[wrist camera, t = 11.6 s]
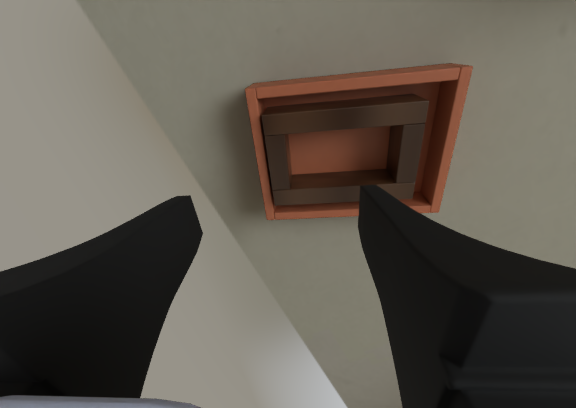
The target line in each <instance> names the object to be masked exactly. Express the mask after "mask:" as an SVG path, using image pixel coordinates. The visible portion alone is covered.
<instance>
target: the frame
mask: <svg viewBox="0 0 576 408" xmlns="http://www.w3.org/2000/svg"><path fill="white" fill-rule="evenodd" d="M428 105H429V100H427V99H424V98H422V97H420V96H418V95H415V94H403V95H392V96H381V97H370V98H359V99H348V100H337V101H326V102H315V103H304V104H293V105H282V106H271V107H267V108H266V110H265V111H264V113H263V114H262V122H263V129H264V135H265V143H266V150H267V157H268V163H269V170H270V177H271V184H272V190H273V198H274V205H275V206H278V205H298V204H318V203H338V202H358V201H359V198H360V186H361V185H377V186H379V187H380V188H382V189H383V190H385V191H386V192H388V193H389V194H391V195H392V196H393V197H395V198H396V199H412V198H413V194H414V188H415V182H416V176H417V170H418V165H419V159H420V153H421V147H422V141H423V135H424V129H425V122H426V117H427V111H428ZM383 126H391V127H390V136H389V146H388V156H387V166H386V168H387V169H374V170H358V171H342V172H326V173H310V174H294V175H292V167H291V157H290V146H289V136H288V134H294V133H307V132H319V131H332V130H345V129H357V128H370V127H383Z"/></svg>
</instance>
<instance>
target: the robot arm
mask: <svg viewBox="0 0 576 408" xmlns="http://www.w3.org/2000/svg"><path fill="white" fill-rule="evenodd" d="M358 229H359V234H360V239H361V244H362V248H363V251H364V254H365V257H366V260H367V263H368V266H369V269H370V272H371V274H372V277H373V280H374V283H375V286H376V289H377V292H378V295H379V298H380V302H381V305H382V310H383V314H384V318H385V323H386V327H387V332H388V336H389V341H390V346H391V350H392V355H393V360H394V365H395V370H396V375H397V380H398V385H399V390H400V396H401V401H402V406H403V408H576V269H574V268H570V267H566V266H562V265H558V264H554V263H550V262H546V261H541V260H538V259H534V258H531V257H527V256H524V255H521V254H517V253H514V252H511V251H507V250H504V249H501V248H498V247H495V246H492V245H489V244H486V243H484V242H481V241H479V240H476V239H473V238H471V237H468V236H465V235H463V234H461V233H458V232H456V231H454V230H452V229H449V228H447V227H445V226H443V225H441V224H439V223H437V222H435V221H433V220H431V219H429V218H427V217H426V216H424V215H422V214H420V213H418V212H417V211H415V210H413V209H412V208H410V207H409V206H407V205H405V204H404V203H402V202H401V201H399V200H398V199H396V198H395V197H393V196H392V195H391V194H389V193H388V192H386V191H385V190H383V189H382V188H380V187H379V186H377V185H361V186H360V198H359V218H358ZM202 234H203V232H202V230H201V226H200V223H199V220H198V217H197V214H196V211H195V208H194V205H193V203H192V199H191V196H176V197H174V198H171V199H169V200H167V201H165V202H163V203H161V204H159V205H157V206H155V207H154V208H152V209H150V210H148V211H146V212H144V213H143V214H141V215H139V216H137V217H135V218H134V219H132V220H130V221H128V222H126V223H124V224H122V225H120V226H118V227H116V228H114V229H112V230H110V231H108V232H107V233H104V234H102V235H100V236H98V237H96V238H93V239H91V240H89V241H86V242H84V243H82V244H79V245H77V246H74V247H72V248H69V249H67V250H64V251H61V252H58V253H56V254H53V255H51V256H48V257H45V258H42V259H40V260H37V261H33V262H30V263H27V264H24V265H21V266H18V267H15V268H11V269H8V270H4V271H1V272H0V408H200V407H198V406H195V405H192V404H189V403H182V402H176V401H168V400H162V399H147V398H143V399H142V398H140V396H141V392H142V389H143V385H144V381H145V378H146V375H147V371H148V368H149V365H150V362H151V358H152V355H153V352H154V349H155V346H156V343H157V340H158V337H159V334H160V331H161V329H162V326H163V323H164V321H165V318H166V315H167V313H168V310H169V308H170V305H171V303H172V301H173V299H174V296H175V294H176V292H177V290H178V288H179V287H180V285H181V283H182V281H183V279H184V277H185V275H186V273H187V271H188V269H189V267H190V265H191V263H192V261H193V259H194V257H195V255H196V253H197V250H198V247H199V244H200V241H201V237H202Z"/></svg>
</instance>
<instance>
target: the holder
mask: <svg viewBox="0 0 576 408" xmlns="http://www.w3.org/2000/svg"><path fill="white" fill-rule="evenodd" d="M472 69H473V66H469V65H460V64H452V63H448V64H438V65H428V66H418V67H408V68H399V69H389V70H379V71H369V72H359V73H349V74H340V75H330V76H320V77H310V78H300V79H291V80H281V81H271V82H261V83H253V84H252V85H250V86H249V87H247V88H246V89H245V93H246V99H247V105H248V111H249V117H250V123H251V129H252V134H253V140H254V146H255V152H256V158H257V164H258V170H259V176H260V182H261V188H262V194H263V200H264V206H265V212H266V218H267V220H280V219H302V218H324V217H346V216H359V201H358V202H338V203H318V204H298V205H278V206H275V205H274V198H273V190H272V184H271V177H270V170H269V163H268V157H267V150H266V143H265V135H264V129H263V122H262V114H263V113H264V111H265V110H266V108H267V107H271V106H282V105H293V104H304V103H315V102H326V101H337V100H348V99H359V98H370V97H381V96H392V95H403V94H415V95H418V96H420V97H422V98H424V99H427V100H429V105H428V111H427V117H426V122H425V129H424V135H423V141H422V147H421V153H420V159H419V165H418V170H417V176H416V182H415V188H414V194H413V198H412V199H398V200H399V201H401V202H402V203H404V204H405V205H407V206H409V207H410V208H412V209H413V210H415V211H417V212H418V213H429V212H430V213H435V212H439V209H440V205H441V201H442V197H443V192H444V188H445V184H446V179H447V175H448V171H449V167H450V162H451V158H452V154H453V150H454V145H455V141H456V137H457V133H458V128H459V124H460V120H461V116H462V111H463V107H464V103H465V99H466V94H467V90H468V86H469V81H470V77H471V73H472ZM390 127H391V126H383V127H370V128H357V129H345V130H332V131H319V132H307V133H294V134H288V136H289V146H290V157H291V167H292V175H294V174H310V173H326V172H342V171H358V170H374V169H387V168H386V166H387V156H388V146H389V136H390Z"/></svg>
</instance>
